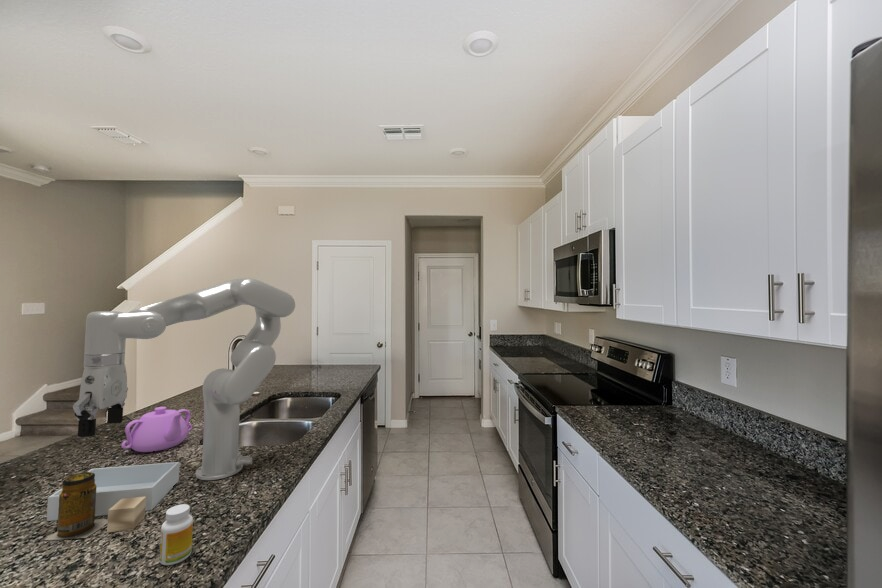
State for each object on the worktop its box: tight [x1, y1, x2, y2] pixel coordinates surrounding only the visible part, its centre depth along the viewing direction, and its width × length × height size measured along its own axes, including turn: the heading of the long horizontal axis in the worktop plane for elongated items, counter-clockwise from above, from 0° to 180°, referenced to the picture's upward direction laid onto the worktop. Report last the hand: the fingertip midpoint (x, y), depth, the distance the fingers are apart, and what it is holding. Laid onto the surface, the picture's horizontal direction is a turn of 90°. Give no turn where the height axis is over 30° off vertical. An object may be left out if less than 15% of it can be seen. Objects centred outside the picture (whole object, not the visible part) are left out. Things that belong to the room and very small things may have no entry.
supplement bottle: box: [159, 503, 194, 566], centre depth 74 cm, size 5×5×10 cm
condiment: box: [43, 471, 108, 541], centre depth 82 cm, size 7×8×12 cm
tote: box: [46, 461, 181, 522], centre depth 95 cm, size 21×15×6 cm
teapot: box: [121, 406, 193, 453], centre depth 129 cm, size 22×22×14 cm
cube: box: [106, 496, 146, 533], centre depth 85 cm, size 5×5×5 cm
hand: (101, 429), depth 90 cm, fingers open, 9 cm apart
